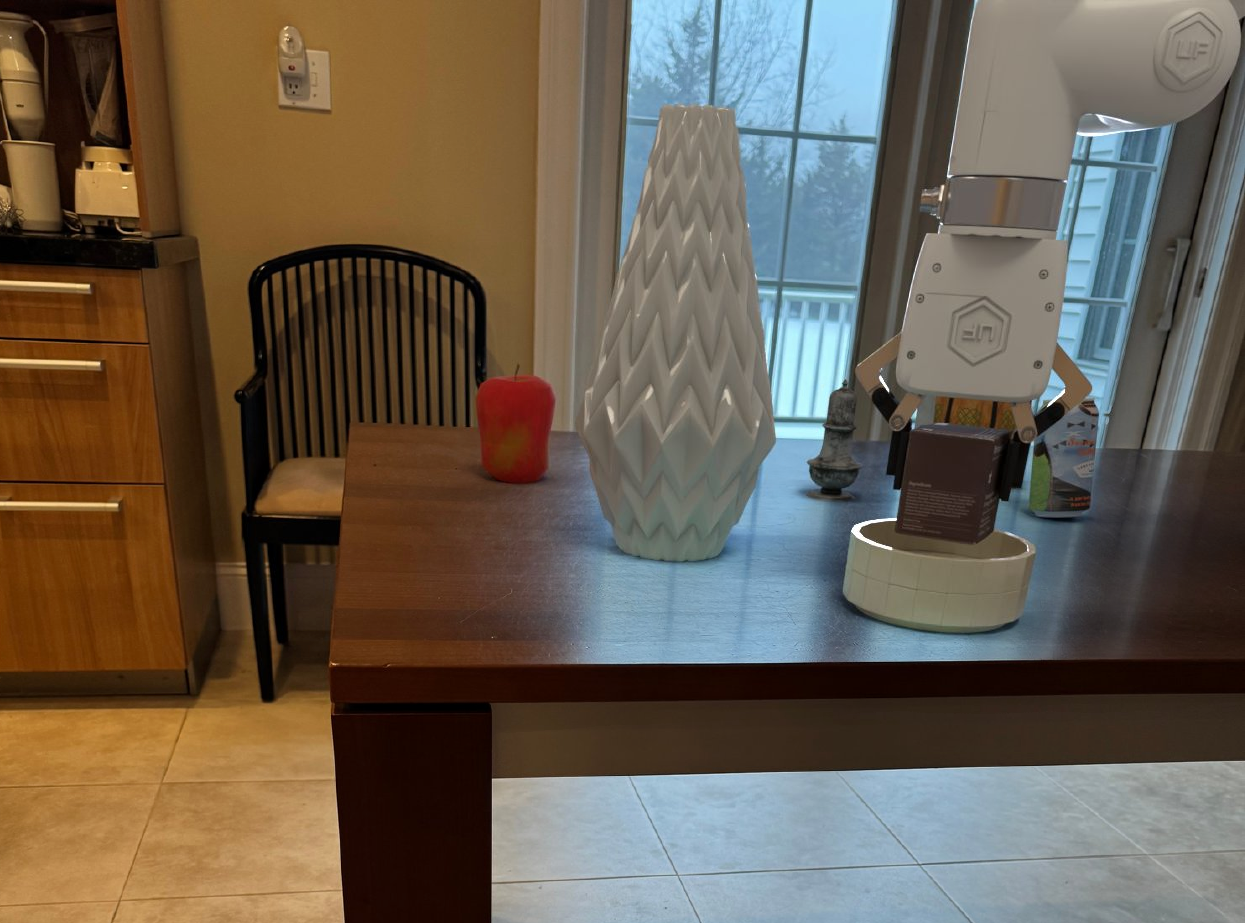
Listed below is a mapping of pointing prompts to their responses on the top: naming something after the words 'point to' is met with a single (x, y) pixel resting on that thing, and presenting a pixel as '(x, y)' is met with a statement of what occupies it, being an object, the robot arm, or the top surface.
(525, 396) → the apple
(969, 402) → the mug
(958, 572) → the bowl
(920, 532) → the box
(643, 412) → the vase
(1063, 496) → the beverage can
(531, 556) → the top surface
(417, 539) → the top surface
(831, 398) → the salt shaker
